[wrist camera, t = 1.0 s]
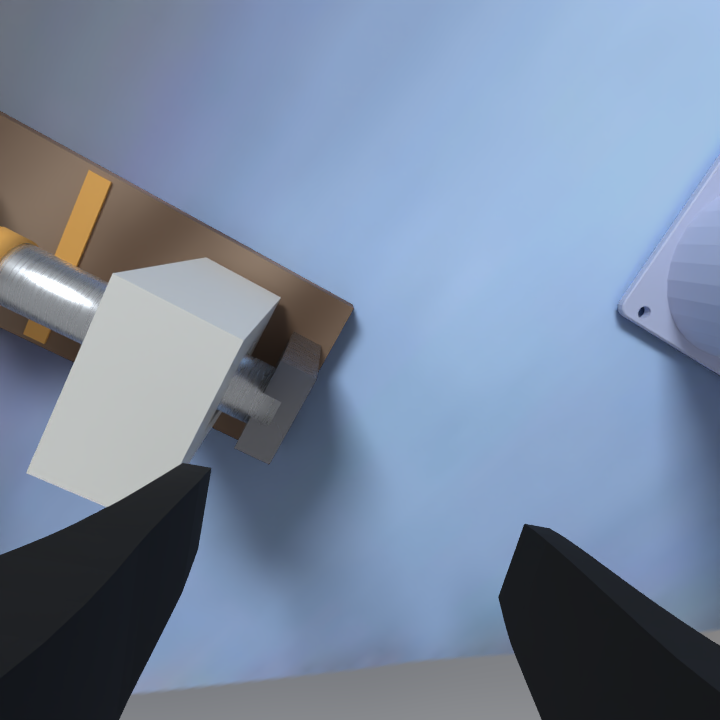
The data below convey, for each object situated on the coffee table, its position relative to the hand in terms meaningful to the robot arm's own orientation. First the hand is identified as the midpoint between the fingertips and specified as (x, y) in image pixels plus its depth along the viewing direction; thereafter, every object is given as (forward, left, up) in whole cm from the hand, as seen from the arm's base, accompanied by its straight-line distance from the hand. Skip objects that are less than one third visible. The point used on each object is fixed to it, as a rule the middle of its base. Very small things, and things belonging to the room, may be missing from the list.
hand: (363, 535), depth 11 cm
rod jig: (+9, 0, -10) cm, 14 cm away
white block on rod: (+6, 0, -8) cm, 10 cm away
